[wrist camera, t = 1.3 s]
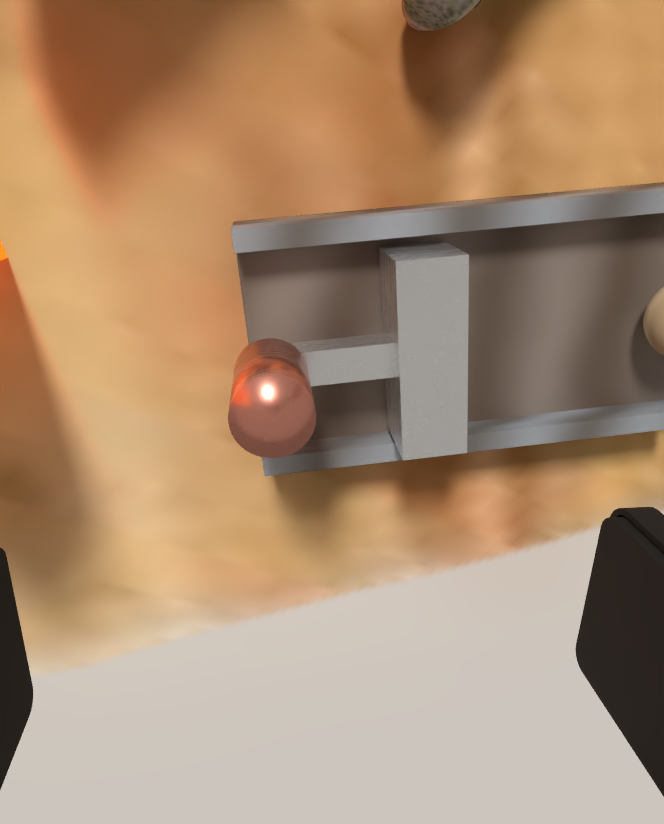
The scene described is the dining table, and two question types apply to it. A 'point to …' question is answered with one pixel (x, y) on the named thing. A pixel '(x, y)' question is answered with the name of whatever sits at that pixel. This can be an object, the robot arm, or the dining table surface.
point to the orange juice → (2, 253)
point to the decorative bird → (435, 12)
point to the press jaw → (372, 363)
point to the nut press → (480, 314)
